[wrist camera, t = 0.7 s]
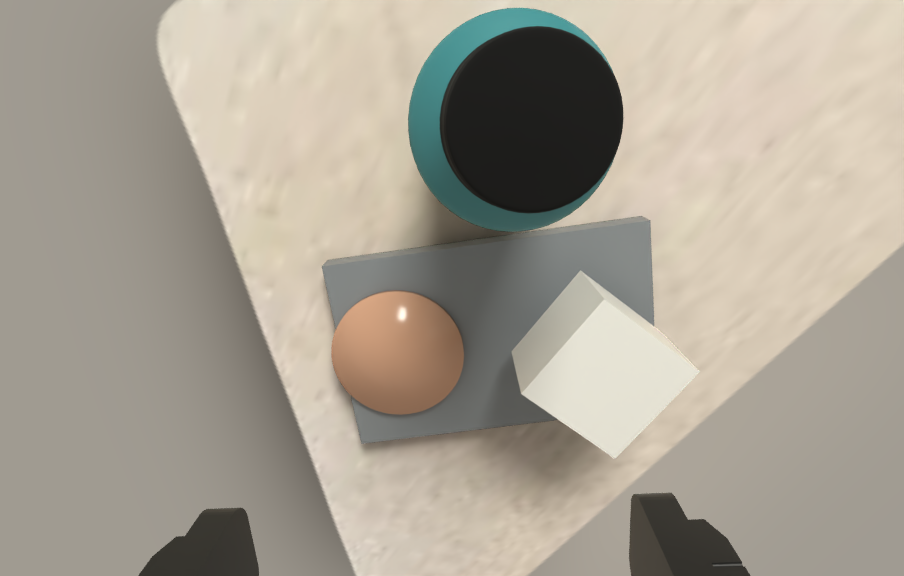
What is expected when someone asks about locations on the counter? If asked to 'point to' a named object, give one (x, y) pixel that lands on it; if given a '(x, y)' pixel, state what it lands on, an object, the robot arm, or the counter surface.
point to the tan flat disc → (398, 352)
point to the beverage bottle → (515, 119)
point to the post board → (493, 309)
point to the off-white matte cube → (599, 366)
